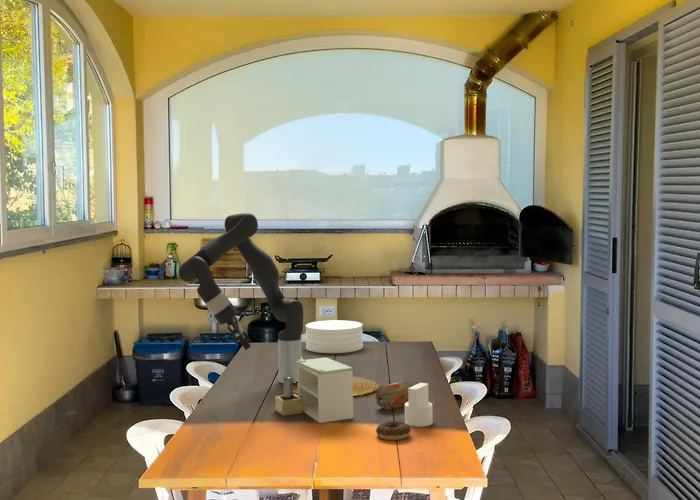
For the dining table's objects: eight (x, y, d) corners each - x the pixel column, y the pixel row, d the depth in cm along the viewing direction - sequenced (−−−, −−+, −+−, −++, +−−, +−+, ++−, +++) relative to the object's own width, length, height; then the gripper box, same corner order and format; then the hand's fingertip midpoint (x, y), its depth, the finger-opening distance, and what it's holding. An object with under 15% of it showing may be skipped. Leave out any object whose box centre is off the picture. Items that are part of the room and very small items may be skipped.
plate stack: (304, 343, 386) (304, 321, 385) (359, 341, 389) (358, 319, 388) (307, 354, 358) (307, 330, 357) (366, 352, 361) (366, 328, 360)
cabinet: (330, 403, 270) (329, 356, 269) (354, 418, 251) (353, 367, 250) (296, 408, 264) (295, 359, 263) (318, 423, 246) (317, 371, 245)
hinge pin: (291, 410, 262) (290, 375, 261) (294, 412, 259) (294, 377, 258) (282, 411, 261) (282, 376, 260) (285, 413, 258) (285, 378, 257)
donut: (415, 440, 228) (415, 427, 228) (382, 443, 225) (382, 430, 225) (403, 430, 238) (403, 417, 238) (371, 433, 235) (371, 420, 235)
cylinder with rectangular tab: (424, 428, 240) (424, 390, 239) (399, 424, 244) (399, 387, 244) (437, 420, 247) (437, 384, 246) (412, 417, 252) (412, 381, 251)
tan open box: (297, 407, 265) (297, 393, 265) (304, 412, 259) (304, 398, 258) (275, 410, 262) (275, 396, 262) (282, 415, 255) (282, 401, 255)
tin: (378, 411, 260) (378, 386, 259) (374, 408, 263) (374, 384, 262) (415, 405, 267) (415, 381, 266) (411, 403, 270) (410, 379, 269)
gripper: (229, 305, 253) (257, 343, 255) (231, 298, 267) (258, 335, 269) (210, 318, 253) (238, 356, 255) (213, 310, 267) (240, 347, 269)
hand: (248, 345), depth 262 cm, fingers open, 8 cm apart
